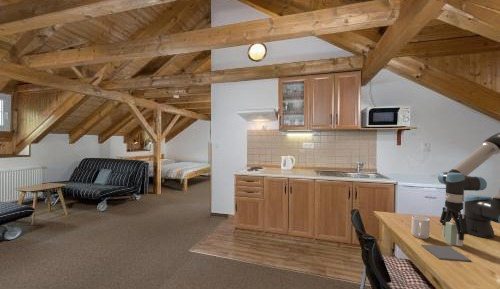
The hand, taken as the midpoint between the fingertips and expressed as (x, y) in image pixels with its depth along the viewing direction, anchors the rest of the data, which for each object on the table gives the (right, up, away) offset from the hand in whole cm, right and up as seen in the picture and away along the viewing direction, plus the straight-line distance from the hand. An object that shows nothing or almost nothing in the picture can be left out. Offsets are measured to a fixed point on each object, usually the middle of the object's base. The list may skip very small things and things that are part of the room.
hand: (452, 241), depth 128 cm
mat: (-14, -1, -11) cm, 18 cm away
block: (0, -1, 0) cm, 1 cm away
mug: (-12, -1, +8) cm, 14 cm away
